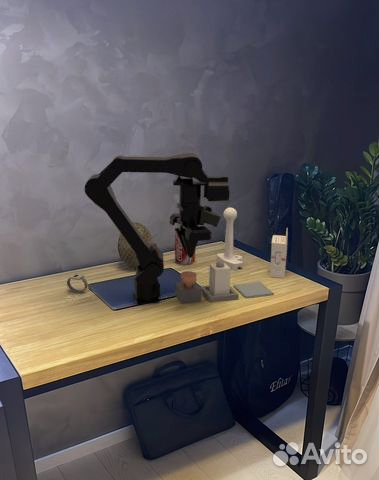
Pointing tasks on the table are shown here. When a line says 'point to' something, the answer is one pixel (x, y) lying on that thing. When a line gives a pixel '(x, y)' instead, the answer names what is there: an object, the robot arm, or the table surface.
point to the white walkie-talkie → (278, 255)
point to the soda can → (182, 253)
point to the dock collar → (218, 298)
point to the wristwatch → (77, 277)
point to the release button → (188, 278)
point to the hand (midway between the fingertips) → (189, 256)
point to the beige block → (219, 279)
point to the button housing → (188, 293)
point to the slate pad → (253, 290)
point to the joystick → (230, 243)
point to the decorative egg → (127, 251)
